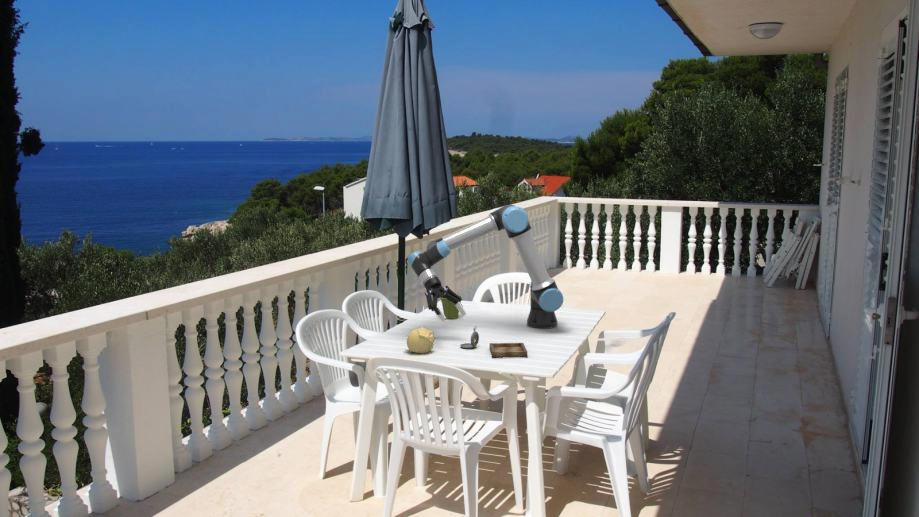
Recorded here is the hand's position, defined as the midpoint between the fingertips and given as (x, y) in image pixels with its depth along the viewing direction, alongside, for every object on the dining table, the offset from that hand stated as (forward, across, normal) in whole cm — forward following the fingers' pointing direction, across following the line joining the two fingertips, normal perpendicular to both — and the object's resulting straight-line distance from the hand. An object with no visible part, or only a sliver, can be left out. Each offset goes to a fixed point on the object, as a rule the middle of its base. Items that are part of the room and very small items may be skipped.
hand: (454, 317), depth 340 cm
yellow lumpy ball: (+7, +18, -12) cm, 23 cm away
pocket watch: (+15, -1, -3) cm, 16 cm away
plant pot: (-18, -39, -36) cm, 56 cm away
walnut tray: (+28, -5, +10) cm, 30 cm away
